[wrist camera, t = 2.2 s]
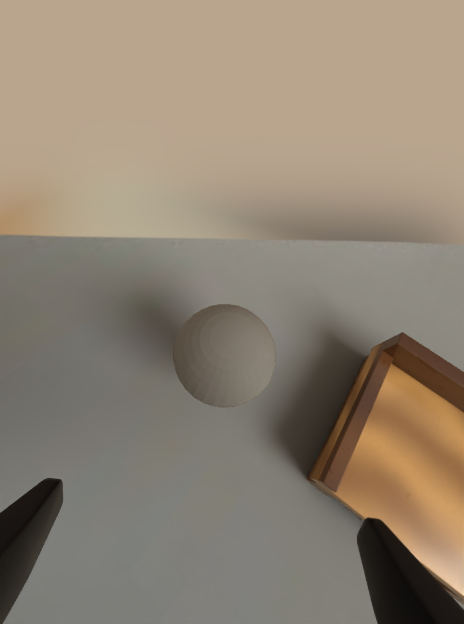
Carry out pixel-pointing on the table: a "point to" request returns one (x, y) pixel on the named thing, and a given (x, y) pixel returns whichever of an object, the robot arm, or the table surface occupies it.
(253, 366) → the light bulb
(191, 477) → the table surface
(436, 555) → the brown wooden tray
